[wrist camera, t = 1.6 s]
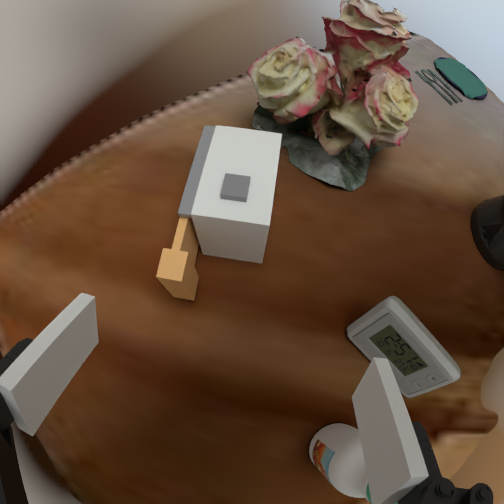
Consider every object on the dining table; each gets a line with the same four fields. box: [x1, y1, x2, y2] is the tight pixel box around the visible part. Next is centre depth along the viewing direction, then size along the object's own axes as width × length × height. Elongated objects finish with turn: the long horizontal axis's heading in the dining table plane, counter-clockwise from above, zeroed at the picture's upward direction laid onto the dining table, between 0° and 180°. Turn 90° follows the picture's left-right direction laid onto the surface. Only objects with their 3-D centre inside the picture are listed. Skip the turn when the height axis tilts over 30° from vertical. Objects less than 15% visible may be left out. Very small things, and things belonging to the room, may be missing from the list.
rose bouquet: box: [247, 0, 418, 192], centre depth 43 cm, size 26×29×30 cm
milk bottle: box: [309, 423, 398, 504], centre depth 28 cm, size 8×8×20 cm
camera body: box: [178, 125, 282, 264], centre depth 44 cm, size 15×11×14 cm
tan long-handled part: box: [156, 217, 199, 301], centre depth 42 cm, size 18×3×10 cm, turn 171°
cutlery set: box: [415, 57, 488, 105], centre depth 70 cm, size 20×30×2 cm, turn 120°
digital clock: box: [347, 296, 461, 398], centre depth 38 cm, size 16×9×11 cm, turn 31°
